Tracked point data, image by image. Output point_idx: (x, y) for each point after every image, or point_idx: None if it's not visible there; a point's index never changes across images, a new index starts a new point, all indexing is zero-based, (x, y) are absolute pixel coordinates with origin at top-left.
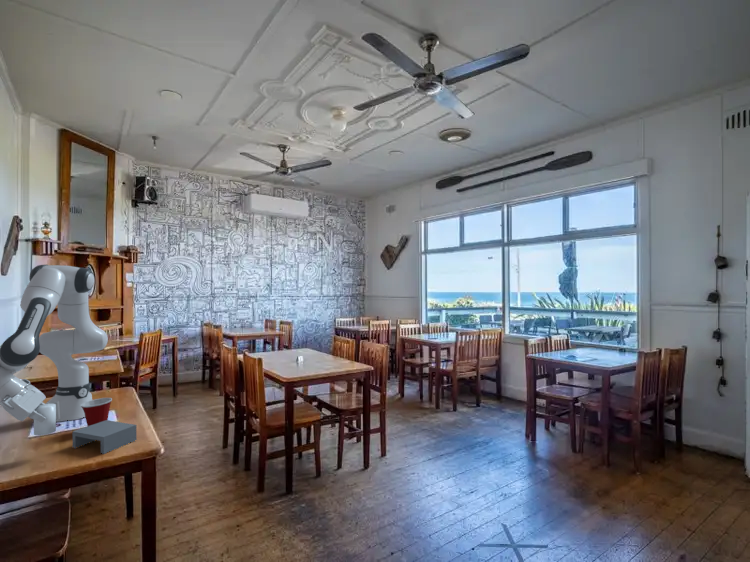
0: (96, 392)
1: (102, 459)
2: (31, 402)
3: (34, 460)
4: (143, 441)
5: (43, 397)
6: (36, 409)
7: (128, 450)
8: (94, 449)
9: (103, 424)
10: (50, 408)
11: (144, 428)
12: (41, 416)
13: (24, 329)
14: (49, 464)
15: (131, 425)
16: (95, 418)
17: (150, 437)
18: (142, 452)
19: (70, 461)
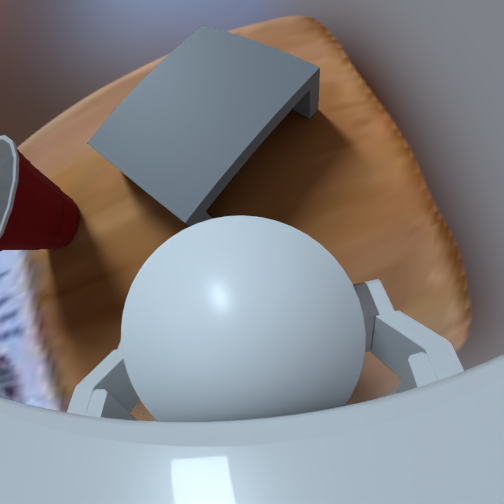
0: None
1: (364, 102)
2: (379, 499)
3: None
4: None
5: (10, 416)
6: (349, 398)
7: (301, 58)
8: (258, 151)
9: (138, 126)
10: (315, 245)
11: (114, 86)
12: (391, 309)
13: None
14: (374, 261)
15: (203, 34)
16: (49, 199)
17: None
18: (326, 31)
19: (363, 193)
